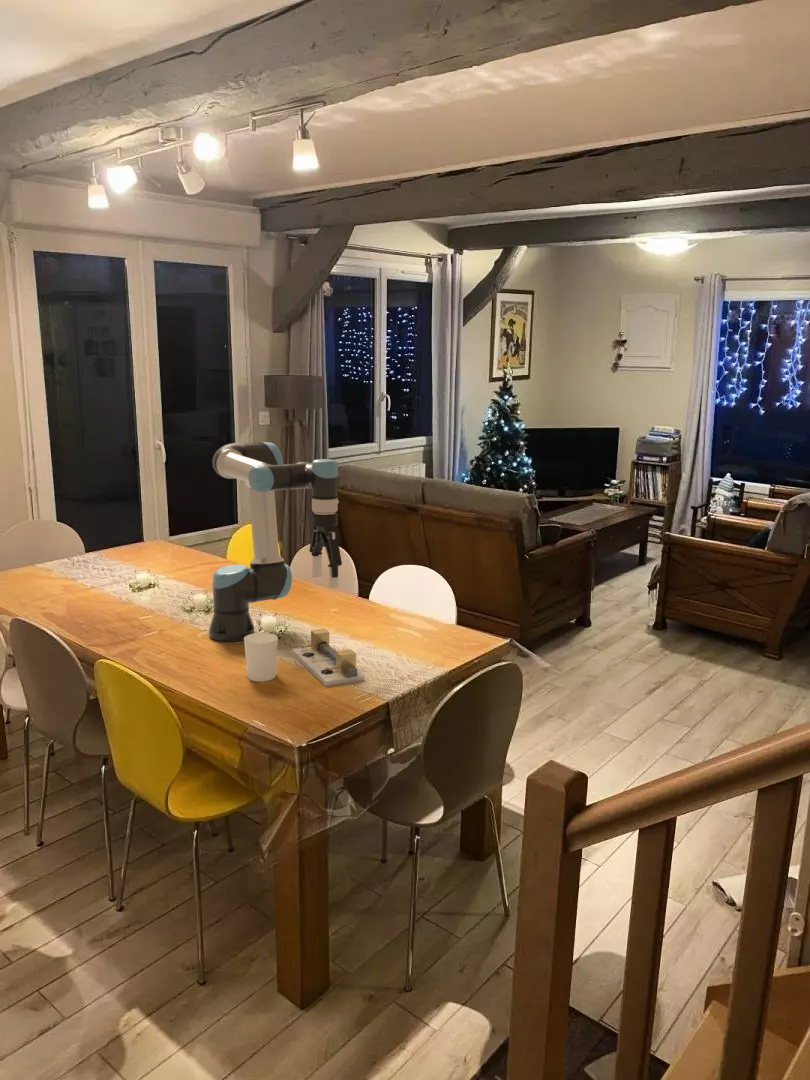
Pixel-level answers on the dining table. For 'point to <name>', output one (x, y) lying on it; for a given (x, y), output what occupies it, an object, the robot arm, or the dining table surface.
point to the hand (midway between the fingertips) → (325, 582)
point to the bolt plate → (329, 664)
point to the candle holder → (261, 656)
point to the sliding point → (318, 638)
